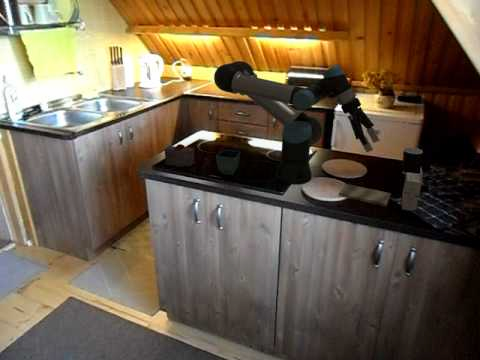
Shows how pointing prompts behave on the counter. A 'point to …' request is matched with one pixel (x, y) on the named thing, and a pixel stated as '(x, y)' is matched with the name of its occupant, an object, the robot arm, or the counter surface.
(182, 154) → the food item
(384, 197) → the birch board
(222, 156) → the flower pot
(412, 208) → the ink cartridge box
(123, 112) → the counter surface
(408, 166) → the dixie cup
